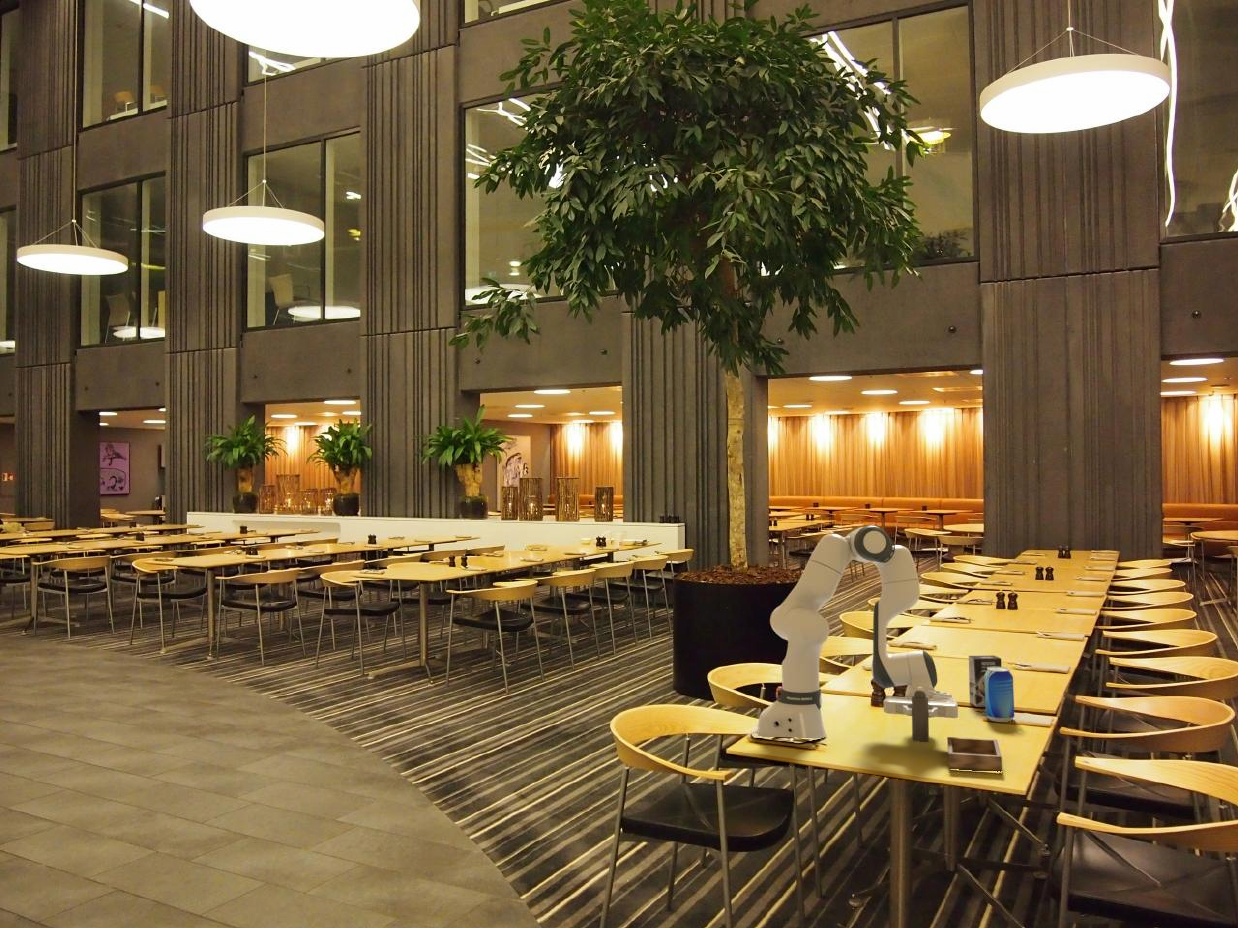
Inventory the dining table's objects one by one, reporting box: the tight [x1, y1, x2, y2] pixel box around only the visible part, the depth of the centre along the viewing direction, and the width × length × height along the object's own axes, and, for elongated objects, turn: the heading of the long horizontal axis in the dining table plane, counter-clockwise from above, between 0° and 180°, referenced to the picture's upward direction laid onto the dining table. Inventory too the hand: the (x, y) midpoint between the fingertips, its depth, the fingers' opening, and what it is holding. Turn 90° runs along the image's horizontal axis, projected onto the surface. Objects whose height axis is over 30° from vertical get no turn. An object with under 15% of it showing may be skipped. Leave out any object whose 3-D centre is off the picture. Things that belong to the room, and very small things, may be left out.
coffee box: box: [968, 654, 1003, 708], centre depth 312 cm, size 9×6×16 cm
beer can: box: [984, 666, 1015, 723], centre depth 293 cm, size 8×8×16 cm
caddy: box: [946, 736, 1003, 772], centre depth 249 cm, size 13×16×4 cm
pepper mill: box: [911, 687, 930, 743], centre depth 258 cm, size 4×4×15 cm
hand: (920, 713), depth 257 cm, fingers closed on pepper mill, 4 cm apart
